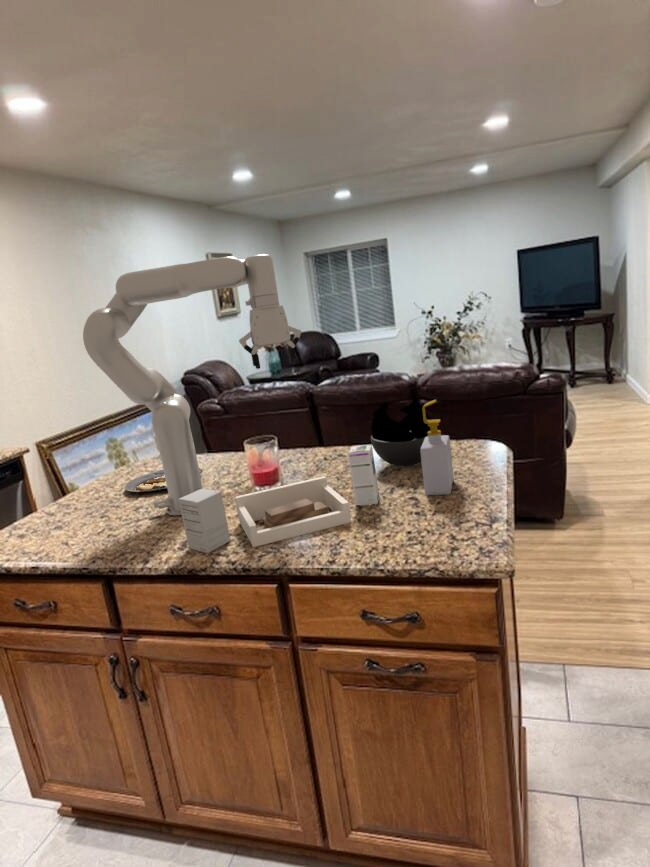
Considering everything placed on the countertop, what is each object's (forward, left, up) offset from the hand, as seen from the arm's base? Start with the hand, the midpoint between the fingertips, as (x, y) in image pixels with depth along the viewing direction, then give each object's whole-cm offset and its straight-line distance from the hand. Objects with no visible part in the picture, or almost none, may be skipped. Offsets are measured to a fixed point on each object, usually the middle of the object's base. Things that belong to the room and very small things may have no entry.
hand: (275, 365), depth 165 cm
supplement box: (-28, -26, -37) cm, 53 cm away
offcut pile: (-8, -28, -37) cm, 47 cm away
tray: (-7, -25, -36) cm, 45 cm away
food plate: (-35, +38, -37) cm, 63 cm away
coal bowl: (+35, -2, -36) cm, 51 cm away
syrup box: (+13, -23, -36) cm, 45 cm away
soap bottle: (+33, -26, -36) cm, 56 cm away
